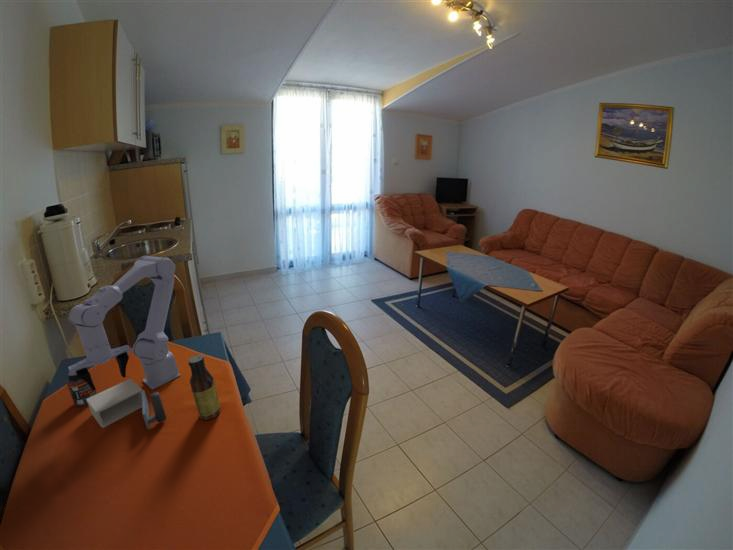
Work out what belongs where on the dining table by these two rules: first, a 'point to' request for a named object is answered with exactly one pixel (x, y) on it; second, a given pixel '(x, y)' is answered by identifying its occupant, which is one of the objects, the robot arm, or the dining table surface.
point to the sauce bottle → (203, 389)
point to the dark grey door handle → (157, 407)
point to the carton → (115, 402)
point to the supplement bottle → (79, 390)
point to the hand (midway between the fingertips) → (109, 382)
